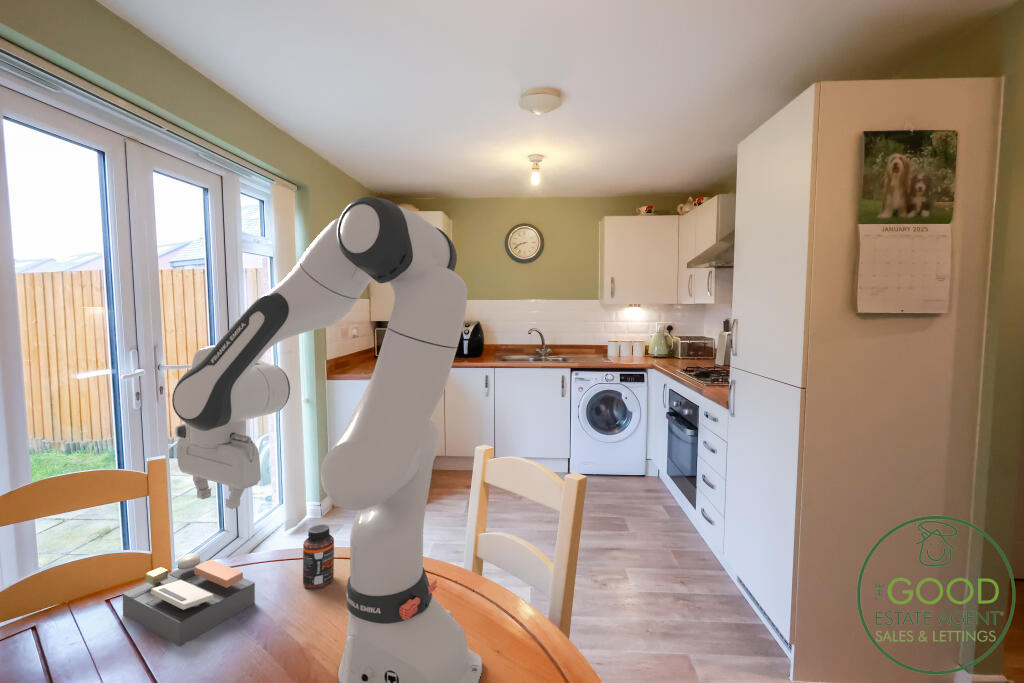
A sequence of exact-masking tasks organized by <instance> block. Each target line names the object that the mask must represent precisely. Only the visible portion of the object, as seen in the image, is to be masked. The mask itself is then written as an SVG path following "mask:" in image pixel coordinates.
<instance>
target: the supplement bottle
mask: <svg viewBox="0 0 1024 683" xmlns="http://www.w3.org/2000/svg"><path fill="white" fill-rule="evenodd" d="M307 534H308V535H307V536H308V537H307V538H306V539H305V540H304V541H303V545H302V546H303V547H302V549H303V550H302V585H303V586H304V587H305V588H307V589H313V590H314V589H320V588H321V589H322V588H324V587H326V586H327V585H329V584H331V583H332V582H333V579H334V574H335V573H334V568H335V565H334V564H335V563H334V562H335V561H334V560H335V556H334V555H335V539H334V537H333V536H332V535H331V534H330V526H329V525H327V524H316V525H313V526H311V527H310V528H309V529H308V533H307Z"/></svg>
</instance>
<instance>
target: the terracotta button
mask: <svg viewBox="0 0 1024 683" xmlns="http://www.w3.org/2000/svg"><path fill="white" fill-rule="evenodd" d="M203 562H204V563H202V564H199V565H197V566H195V567H194V574H195V575H198V576H200V577H202V578H205V579H207V580H209V581H212V582H214V583H216V584H219V585H221V586H223V587H226V588H227V587H229V586H231V585H233V584H235V583H237V582H239V581H241V580H243V578H244V576H243V575H244V572H243V571H241V570H238V569H235V568H233V567H231V566H228V565H226V564H223V563H220V562H218V561H215V560H213V559H209V560H207V561H203Z"/></svg>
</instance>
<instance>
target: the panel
mask: <svg viewBox="0 0 1024 683" xmlns="http://www.w3.org/2000/svg"><path fill="white" fill-rule="evenodd" d="M204 562H205V561H203V560H200V563H199V564H202V563H204ZM199 564H198V565H199ZM178 580H183V581H185V582H187V583H189V584H192V585H194V586H196V587H198V588H201V589H203V590H205V591H207V592H209V593H212V594H213V599H212V600H209V601H206V602H203V603H200V606H197V607H193V606H192V607H189V608H186V609H184V610H183V609H181V608H179V607H177V606H175V605H173V604H171V603H169V602H167V601H165V600H163V599H161V598H159V597H157V596H155V595H153V594H151V589H152V588H155V587H159V586H162V585H165V584H168V583H172V582H175V581H178ZM255 588H256V583H255V582H254V581H252V580H250V579H247V578H244V577H243V580H241V581H239V582H237V583H235V584H233V585H231V586H229V587H227V588H226V587H223V586H221V585H219V584H216V583H214V582H212V581H209V580H207V579H205V578H202V577H200V576H198V575H195V574H194V567H193V568H189V569H183V570H182V569H178V568H177V569H176V570H172V571H171V572H168V579H166V580H163V581H161V584H160V585H158V586H154V585H152V584H150V583H148V582H145V583H143V584H141V585H139V586H136V587H134V588H132V589H130V590H128V591H125V592H123V593H122V616H124V617H126V618H127V619H129V620H131V621H133V622H134V623H136V624H139V625H140V626H141V627H143V628H145V629H147V630H149V631H151V632H152V633H154V634H157V635H158V636H160V637H162V638H164V640H165V639H166V640H167V641H169V642H171V643H172V644H174V645H175V646H178V647H182V646H184V645H185V644H186V643H188V642H190V641H192V640H194V639H196V638H197V637H199V636H200V635H203V634H204V633H206V632H207V631H210V630H211V629H212V628H215V627H216V626H218V625H220V624H221V623H224V622H225V621H226V620H228V619H230V618H232V617H233V616H235V615H237V614H239V613H240V612H242V611H244V610H246V609H247V608H249V607H251V606H252V605H254V604H255V603H256V600H255V599H256V592H255V591H256V589H255Z"/></svg>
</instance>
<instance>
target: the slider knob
mask: <svg viewBox="0 0 1024 683" xmlns="http://www.w3.org/2000/svg"><path fill="white" fill-rule="evenodd" d="M168 573H169V570H168V569H166V568H164V567H161V566H159V567H158V568H155V569H152V570H149V571H148V572H146V573H145V583H150V584H152V585H154V586H158V585H160V584H161V581H163V580H166V579H168Z"/></svg>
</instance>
